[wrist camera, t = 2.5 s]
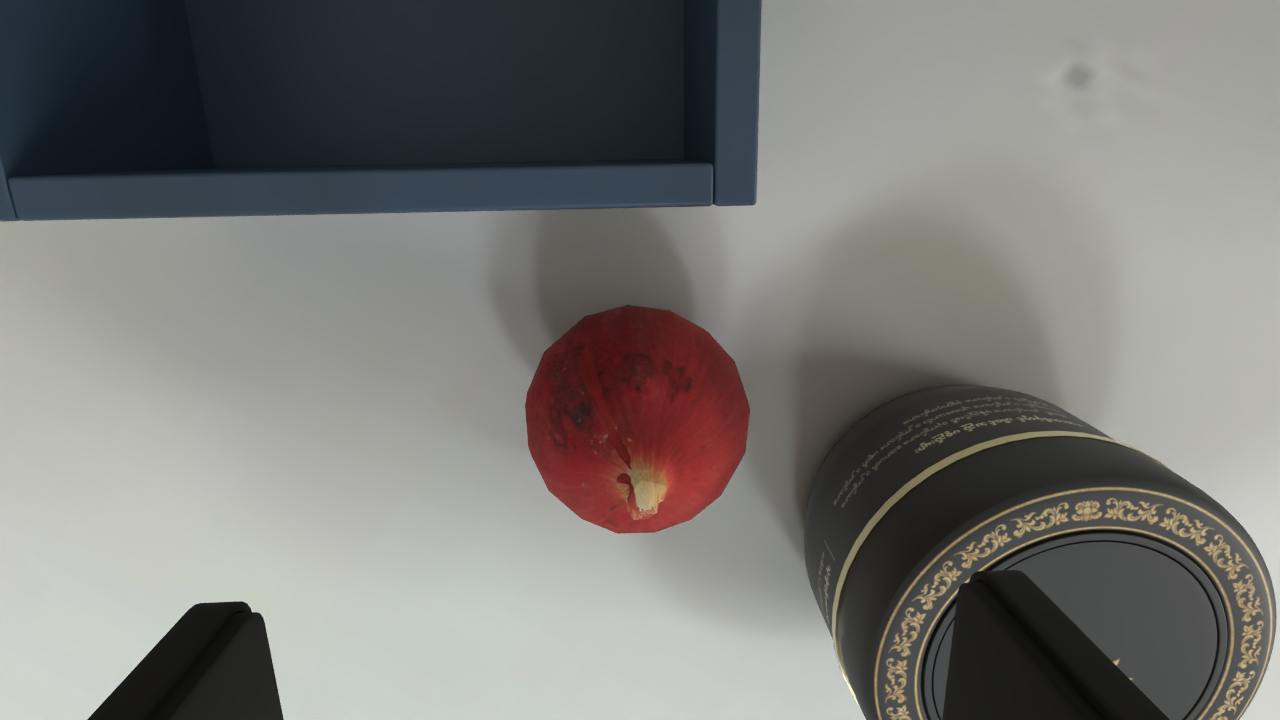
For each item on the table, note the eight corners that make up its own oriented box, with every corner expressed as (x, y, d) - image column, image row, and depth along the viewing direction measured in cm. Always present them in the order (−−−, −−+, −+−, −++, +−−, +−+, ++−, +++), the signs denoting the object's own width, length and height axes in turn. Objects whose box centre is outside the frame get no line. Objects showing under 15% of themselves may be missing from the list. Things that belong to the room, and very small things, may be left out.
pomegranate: (503, 368, 22) (439, 484, 14) (640, 243, 21) (650, 296, 13) (629, 493, 23) (632, 659, 16) (764, 380, 22) (837, 499, 15)
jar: (1083, 611, 25) (1272, 801, 18) (803, 655, 25) (876, 860, 18) (1086, 342, 22) (1313, 436, 15) (771, 395, 23) (841, 512, 15)
